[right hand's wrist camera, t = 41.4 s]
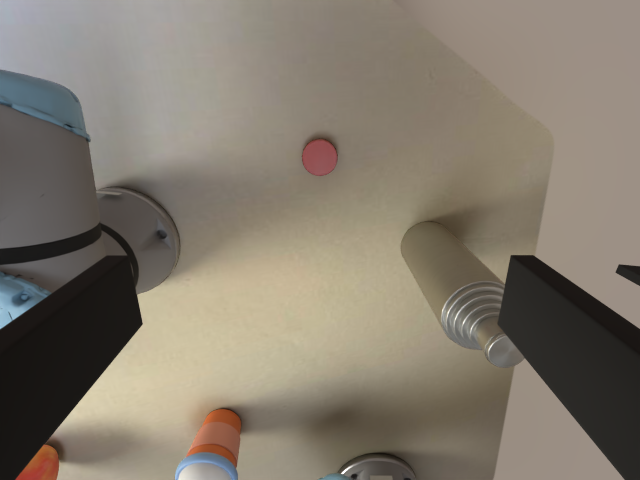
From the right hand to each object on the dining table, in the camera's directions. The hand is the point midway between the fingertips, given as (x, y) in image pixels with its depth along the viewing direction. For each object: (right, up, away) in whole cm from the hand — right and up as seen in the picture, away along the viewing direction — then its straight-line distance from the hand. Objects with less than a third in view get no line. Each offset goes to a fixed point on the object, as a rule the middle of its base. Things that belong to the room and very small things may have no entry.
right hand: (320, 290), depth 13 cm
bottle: (+15, +1, +39) cm, 42 cm away
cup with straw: (-17, -30, +50) cm, 61 cm away
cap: (0, +12, +33) cm, 35 cm away
